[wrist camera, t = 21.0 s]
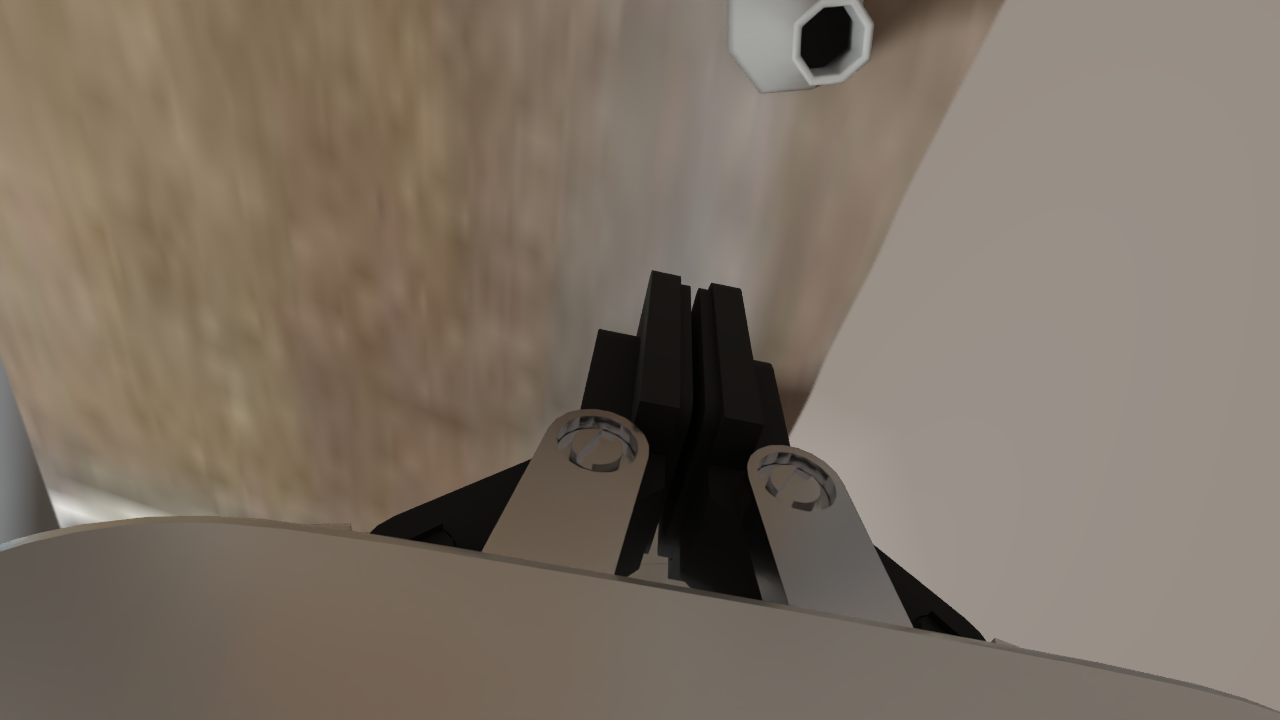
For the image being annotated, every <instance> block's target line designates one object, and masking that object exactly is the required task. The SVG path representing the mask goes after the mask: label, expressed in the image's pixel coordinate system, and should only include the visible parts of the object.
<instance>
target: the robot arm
mask: <svg viewBox="0 0 1280 720" xmlns="http://www.w3.org/2000/svg"><path fill="white" fill-rule="evenodd" d="M0 720H1280V712H1279V711H1277V710H1274V709H1271V708H1269V707H1266V706H1264V705H1261V704H1258V703H1256V702H1253V701H1250V700H1248V699H1245V698H1242V697H1238V696H1235V695H1232V694H1228V693H1225V692H1221V691H1218V690H1214V689H1211V688H1208V687H1204V686H1201V685H1197V684H1193V683H1188V682H1184V681H1180V680H1175V679H1171V678H1166V677H1162V676H1157V675H1153V674H1148V673H1144V672H1139V671H1135V670H1130V669H1126V668H1121V667H1116V666H1112V665H1107V664H1103V663H1098V662H1093V661H1087V660H1082V659H1076V658H1071V657H1066V656H1060V655H1055V654H1050V653H1045V652H1040V651H1034V650H1029V649H1024V648H1020V647H1017V646H1015V645H1012V644H1009V643H1007V642H1004V641H1002V640H999V639H996V638H994V639H993V641H992V642H987V641H986V640H985V639H984V637H983V636H982V635H981V633H980V632H979V631H978V630H977V629H976V628H975V627H974V626H973V625H971V624H970V623H969V622H968V621H967V620H966V619H965V618H964V617H963V616H962V615H960V614H959V613H957V612H956V611H955V610H954V609H953V608H952V607H950V606H949V605H948V604H947V603H945V602H944V601H943V600H942V599H940V598H939V597H938V596H937V595H935V594H934V593H933V592H932V591H930V590H929V589H928V588H927V587H925V586H924V585H923V584H922V583H921V582H919V581H918V580H917V579H916V578H914V577H913V576H912V575H911V574H909V573H908V572H907V571H906V570H904V569H903V568H902V567H900V566H899V565H898V564H897V563H896V562H894V561H893V560H892V559H891V558H890V557H888V556H887V555H886V554H885V553H883V552H882V551H881V550H879V549H878V548H877V547H876V546H875V545H873V543H872V541H871V539H870V537H869V535H868V533H867V531H866V529H865V527H864V525H863V523H862V520H861V518H860V516H859V514H858V512H857V510H856V508H855V506H854V504H853V502H852V500H851V498H850V496H849V494H848V492H847V490H846V488H845V485H844V484H843V482H842V481H841V479H840V478H839V476H838V475H837V473H836V472H835V471H834V470H833V469H832V468H831V467H830V466H829V465H827V464H826V463H825V462H824V461H822V460H821V459H819V458H818V457H816V456H814V455H813V454H811V453H808V452H806V451H803V450H801V449H798V448H795V447H790V443H789V439H788V434H787V429H786V425H785V420H784V416H783V411H782V406H781V402H780V397H779V393H778V388H777V383H776V379H775V374H774V370H773V367H772V364H770V363H766V362H761V361H756V360H753V355H752V349H751V343H750V337H749V332H748V326H747V320H746V314H745V308H744V303H743V297H742V291H741V289H740V288H735V287H730V286H725V285H720V284H715V283H711V284H710V286H709V289H708V290H706V289H701V288H699V289H698V291H697V293H696V297H695V300H694V304H693V307H692V311H691V287H690V286H687V285H682V284H681V276H677V275H672V274H667V273H662V272H658V271H653V270H652V272H651V275H650V279H649V283H648V288H647V292H646V297H645V301H644V305H643V310H642V314H641V318H640V323H639V327H638V331H637V336H632V335H627V334H622V333H617V332H612V331H607V330H602V329H599V330H598V334H597V339H596V343H595V348H594V352H593V356H592V361H591V365H590V370H589V374H588V378H587V383H586V387H585V392H584V396H583V400H582V405H581V409H580V410H576V411H572V412H568V413H566V414H564V415H562V416H560V417H559V418H557V419H556V420H555V421H554V422H553V423H552V424H551V426H550V427H549V428H548V430H547V432H546V433H545V435H544V437H543V439H542V441H541V443H540V444H539V446H538V448H537V450H536V452H535V454H534V456H533V457H532V459H530V460H528V461H525V462H523V463H520V464H518V465H516V466H513V467H511V468H508V469H506V470H504V471H501V472H499V473H496V474H494V475H492V476H489V477H487V478H485V479H482V480H480V481H477V482H475V483H473V484H470V485H468V486H465V487H463V488H461V489H458V490H456V491H453V492H451V493H449V494H446V495H444V496H441V497H439V498H437V499H434V500H432V501H429V502H427V503H425V504H422V505H420V506H417V507H415V508H413V509H410V510H408V511H405V512H403V513H401V514H398V515H396V516H394V517H392V518H390V519H388V520H387V521H385V522H383V523H381V524H380V525H378V526H377V527H376V528H375V529H374V530H372V531H371V532H356V531H352V529H351V524H297V523H289V522H282V521H274V520H266V519H254V518H237V517H220V516H172V517H143V518H134V519H126V520H117V521H108V522H100V523H91V524H83V525H77V526H72V527H67V528H62V529H57V530H52V531H47V532H43V533H39V534H35V535H31V536H27V537H23V538H19V539H15V540H12V541H9V542H7V543H4V544H1V545H0Z"/></svg>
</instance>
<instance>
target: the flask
mask: <svg viewBox="0 0 1280 720" xmlns="http://www.w3.org/2000/svg"><path fill="white" fill-rule="evenodd" d="M863 4H864V0H728V51H729V52H730V54H731V55H732V56H733V58H734V59H735V60H736V62H737V63H738V64H739V66H740V67H741V69H742V70H743V71H744V73H745V74H746V75H747V77H748V78H749V79H750V81H751V82H752V84H753V85H754V86H755V88H756V89H757V90H758V92H759V93H773V92H785V91H797V90H810V89H814V88H815V87H816V86H817V85H823V84H836V83H843V82H844V81H845V80H846V79H848V78H849V77H850V76H851V75H853V74H854V73H855V72H856V71H858V70H859V69H860V68H861V67H862V66H864V65H865V64H866V63H867V62H869V61H870V59H871V50H872V40H873V31H874V22H873V21H872V19H871V17H870V16H869V14H868V12H867V11H866V9H865V8H864V6H863Z"/></svg>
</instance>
